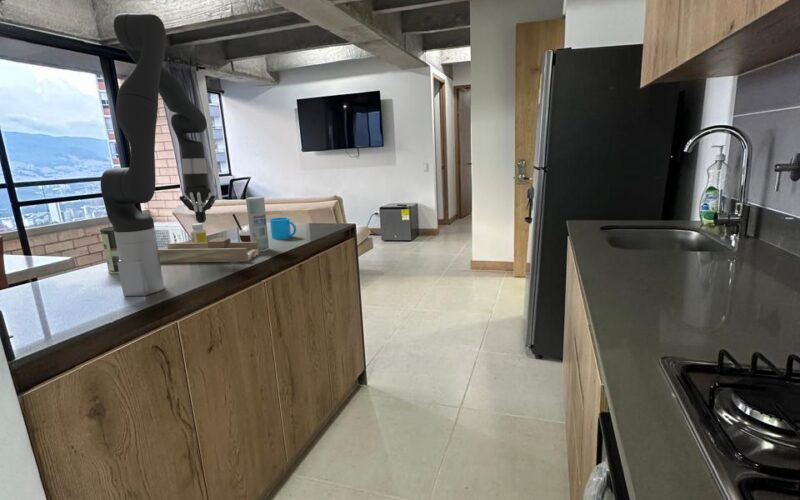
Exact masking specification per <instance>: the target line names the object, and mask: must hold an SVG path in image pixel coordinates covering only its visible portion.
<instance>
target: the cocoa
mask: <svg viewBox="0 0 800 500" xmlns="http://www.w3.org/2000/svg"><path fill="white" fill-rule="evenodd" d="M232 216H233V218H234V221H235V223H236V226H237V227H238V229H239V231H238V234H239V235H238V237H239V239H240V242H251V238H250V230H249V226H245V227H243V228H242V226H241V224H240V222H239V220H238V218H237V216H236V214H235V213H232Z"/></svg>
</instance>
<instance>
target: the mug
mask: <svg viewBox="0 0 800 500" xmlns="http://www.w3.org/2000/svg"><path fill="white" fill-rule="evenodd" d="M269 224H270V234H271V239H272V240H287V239H289V238H291V237H293V236H294V235H295V234H296V232H297V226H296V225H295V223H294V222H292V221H291V219H290V218H289V217H274V218H270V219H269ZM291 226H292V228H293V232H291Z"/></svg>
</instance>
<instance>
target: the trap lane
mask: <svg viewBox="0 0 800 500" xmlns="http://www.w3.org/2000/svg"><path fill="white" fill-rule="evenodd" d="M230 243H231V248H215V249H208V242H207V243H192V242H177V243H176V242H171V243H170V242H168V243H167V244H166V246H167V248H166V249H165V248H164V249H161V248H158V252H159V258H160V264H162V263H163V264H164V263H165V264H166V263H167V264H169V263H222V262H223V263H225V262H226V263H228V262H229V263H230V262H231V263H232V262H238V261H240V262H249V261H250V260H252V259H254V258H256V257H257V256H258V255H260V252H259V244H258V242H242V241H232V242H231V241H230ZM256 255H257V256H256ZM253 257H254V258H253Z"/></svg>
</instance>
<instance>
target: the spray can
mask: <svg viewBox="0 0 800 500" xmlns="http://www.w3.org/2000/svg"><path fill="white" fill-rule="evenodd" d="M245 204H246V212H247V220H248V227H249V230H250V238H251V242H258V244H259V253H261V251H263V252H266V250H267V251H269V250H270V247H269V236H268V226H267V225H268V223H267V216H266V214H267V213H266V204H265V196H252V197H251V196H250V197H246V198H245Z"/></svg>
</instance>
